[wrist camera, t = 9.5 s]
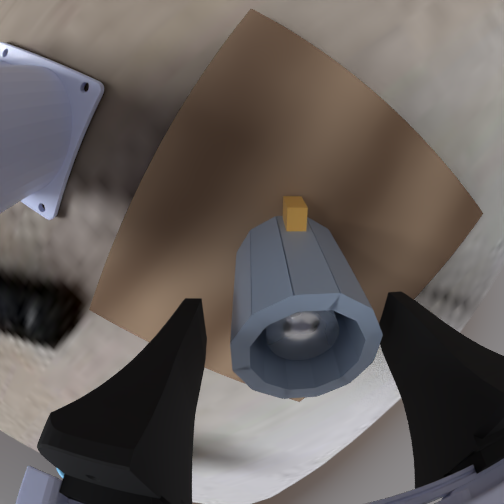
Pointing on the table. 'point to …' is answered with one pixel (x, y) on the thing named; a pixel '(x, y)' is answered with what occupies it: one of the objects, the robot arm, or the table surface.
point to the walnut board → (278, 187)
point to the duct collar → (297, 306)
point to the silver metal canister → (303, 334)
